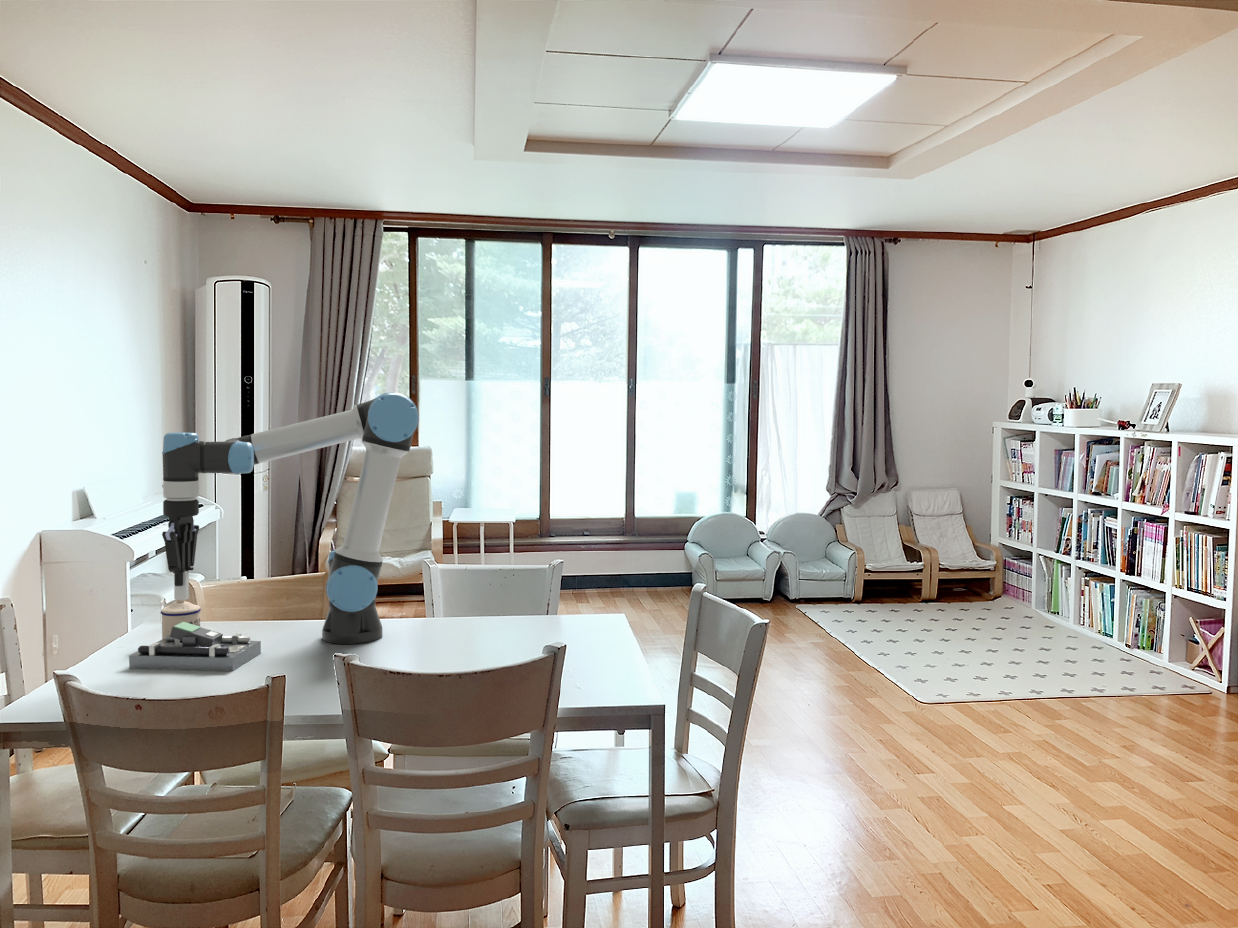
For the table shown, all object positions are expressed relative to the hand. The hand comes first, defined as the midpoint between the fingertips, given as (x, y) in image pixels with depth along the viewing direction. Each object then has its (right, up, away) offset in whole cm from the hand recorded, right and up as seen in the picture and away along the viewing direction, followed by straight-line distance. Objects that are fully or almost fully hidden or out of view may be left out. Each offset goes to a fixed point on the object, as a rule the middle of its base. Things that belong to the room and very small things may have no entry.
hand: (181, 598), depth 219 cm
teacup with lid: (-7, -14, +17) cm, 23 cm away
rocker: (+3, -10, +1) cm, 10 cm away
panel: (+3, -15, +1) cm, 15 cm away
